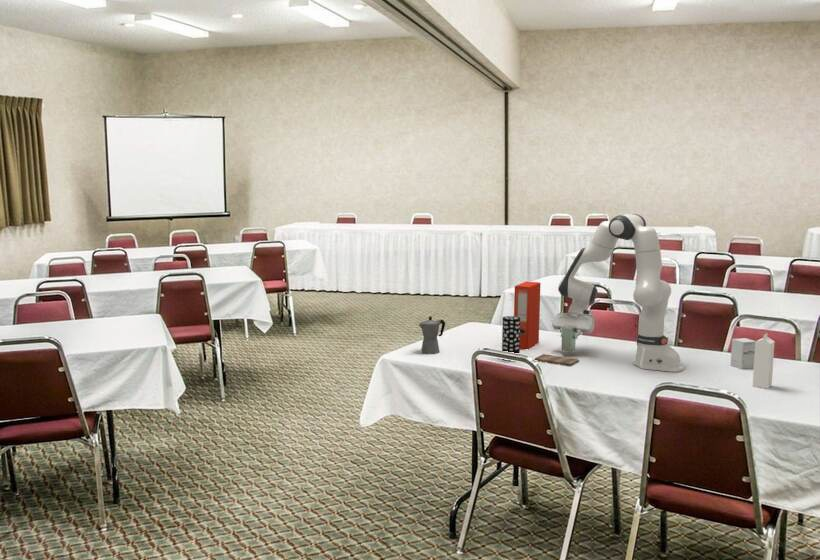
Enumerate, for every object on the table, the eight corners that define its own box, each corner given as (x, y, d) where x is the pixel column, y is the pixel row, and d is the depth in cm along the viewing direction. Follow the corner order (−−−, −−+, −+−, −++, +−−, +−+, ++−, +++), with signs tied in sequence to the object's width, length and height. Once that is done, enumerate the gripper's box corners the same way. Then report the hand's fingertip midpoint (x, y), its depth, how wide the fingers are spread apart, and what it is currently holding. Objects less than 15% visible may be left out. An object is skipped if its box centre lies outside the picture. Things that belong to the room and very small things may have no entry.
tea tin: (575, 350, 357) (576, 325, 355) (571, 352, 352) (571, 327, 351) (565, 348, 360) (565, 324, 358) (561, 350, 355) (561, 326, 354)
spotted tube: (519, 356, 355) (519, 316, 352) (519, 361, 346) (520, 319, 344) (501, 356, 356) (502, 316, 353) (502, 360, 347) (502, 319, 344)
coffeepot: (424, 355, 358) (424, 319, 355) (414, 351, 366) (413, 316, 363) (450, 351, 366) (450, 316, 363) (439, 347, 374) (439, 313, 371)
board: (578, 361, 345) (578, 359, 345) (570, 366, 337) (570, 363, 337) (543, 356, 355) (543, 354, 355) (534, 360, 347) (534, 358, 347)
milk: (771, 385, 305) (775, 333, 302) (767, 389, 300) (771, 336, 297) (756, 383, 309) (759, 331, 306) (751, 386, 304) (755, 334, 301)
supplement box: (741, 369, 330) (742, 342, 328) (729, 365, 337) (731, 338, 336) (754, 368, 332) (756, 341, 330) (743, 364, 339) (745, 337, 337)
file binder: (539, 343, 384) (540, 282, 379) (528, 350, 368) (529, 287, 364) (524, 341, 387) (525, 281, 383) (513, 348, 372) (514, 285, 368)
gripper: (555, 308, 365) (546, 331, 359) (594, 312, 354) (586, 336, 347) (558, 316, 370) (550, 338, 363) (598, 320, 358) (590, 343, 351)
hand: (568, 337), depth 355 cm, fingers closed on tea tin, 5 cm apart
